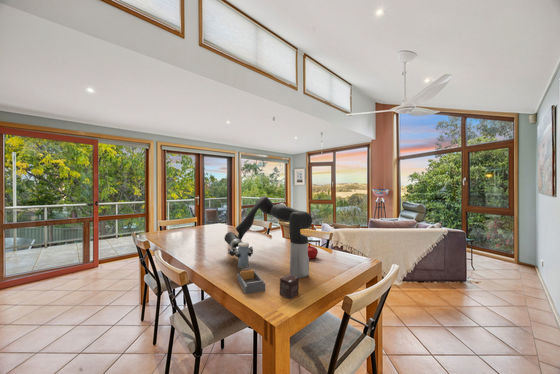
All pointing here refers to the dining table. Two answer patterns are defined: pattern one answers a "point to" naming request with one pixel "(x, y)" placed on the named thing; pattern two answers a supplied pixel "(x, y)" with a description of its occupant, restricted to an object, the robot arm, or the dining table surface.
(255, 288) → the grey open tray
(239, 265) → the jar
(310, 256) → the pomegranate
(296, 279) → the box
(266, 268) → the dining table surface
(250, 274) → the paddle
